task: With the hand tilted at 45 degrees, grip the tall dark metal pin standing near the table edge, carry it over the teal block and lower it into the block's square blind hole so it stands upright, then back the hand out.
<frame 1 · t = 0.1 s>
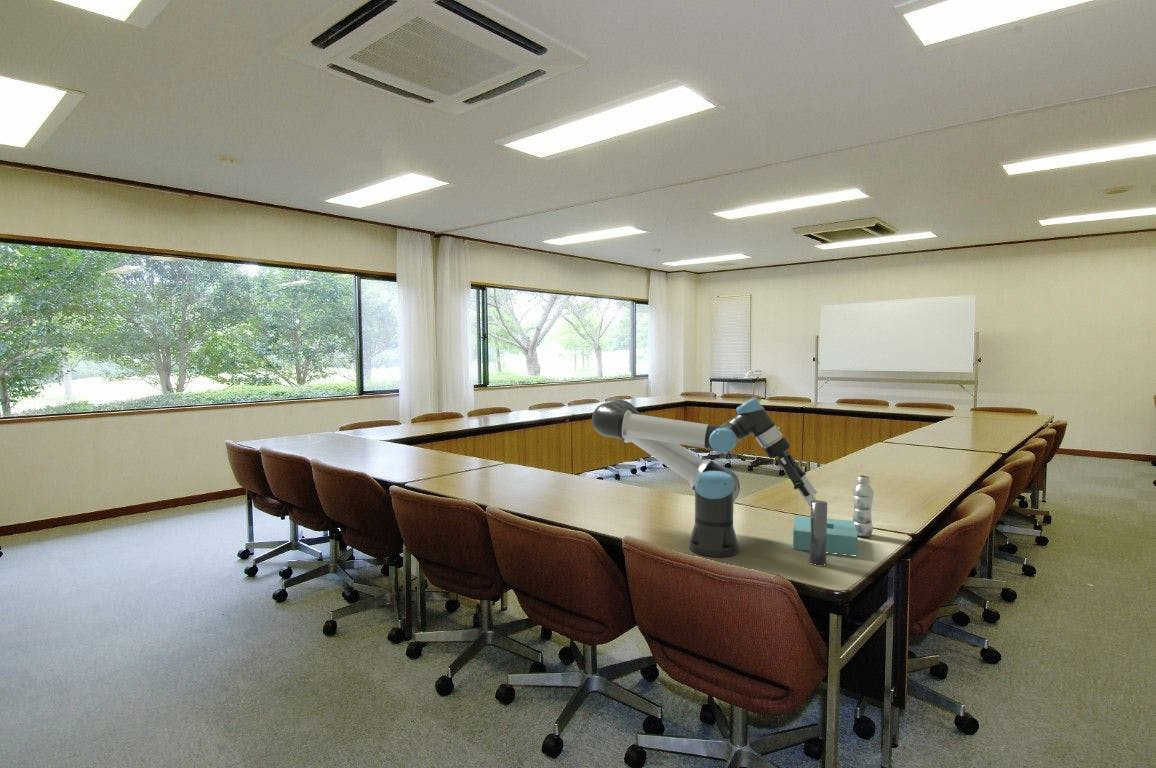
hand: (813, 499, 179), 15 cm above the table, tool tilted 35°, fingers open, 13 cm apart
socket block: (823, 544, 183), on the table
plastic bottle: (861, 536, 192), on the table
pin: (817, 563, 167), on the table
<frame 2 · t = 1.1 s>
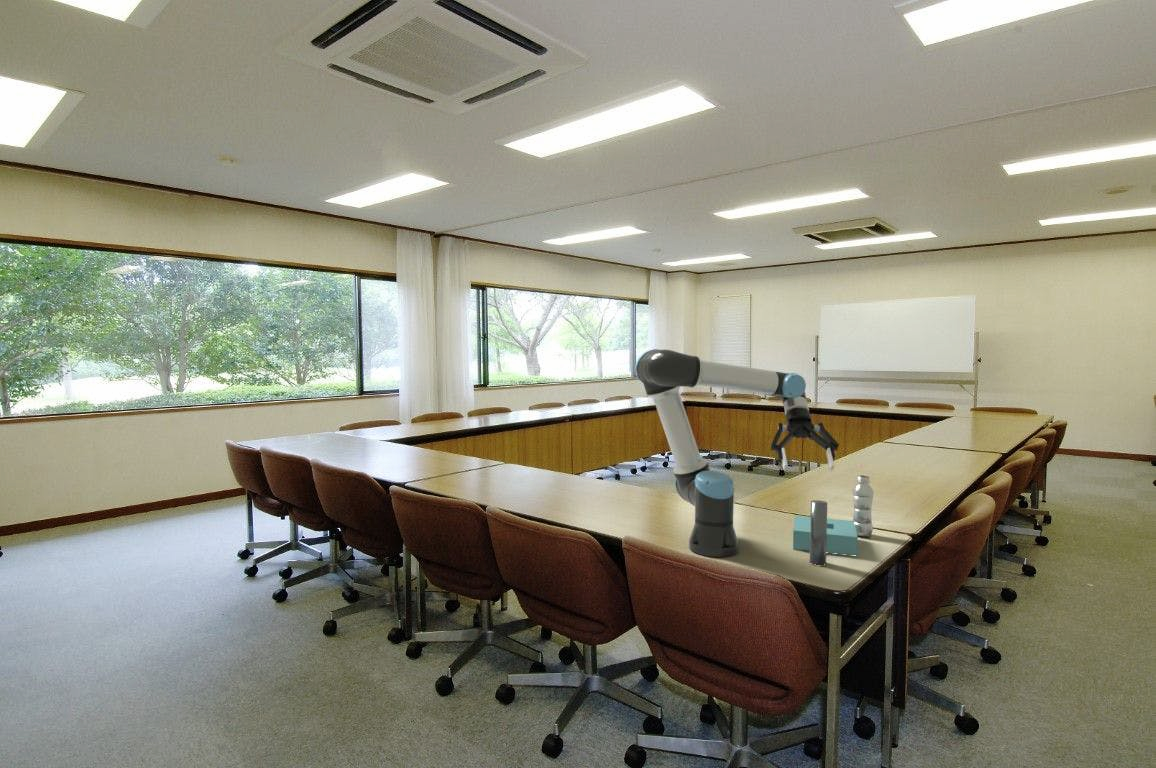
hand: (808, 467, 175), 26 cm above the table, tool tilted 45°, fingers open, 13 cm apart
nothing on the table moved.
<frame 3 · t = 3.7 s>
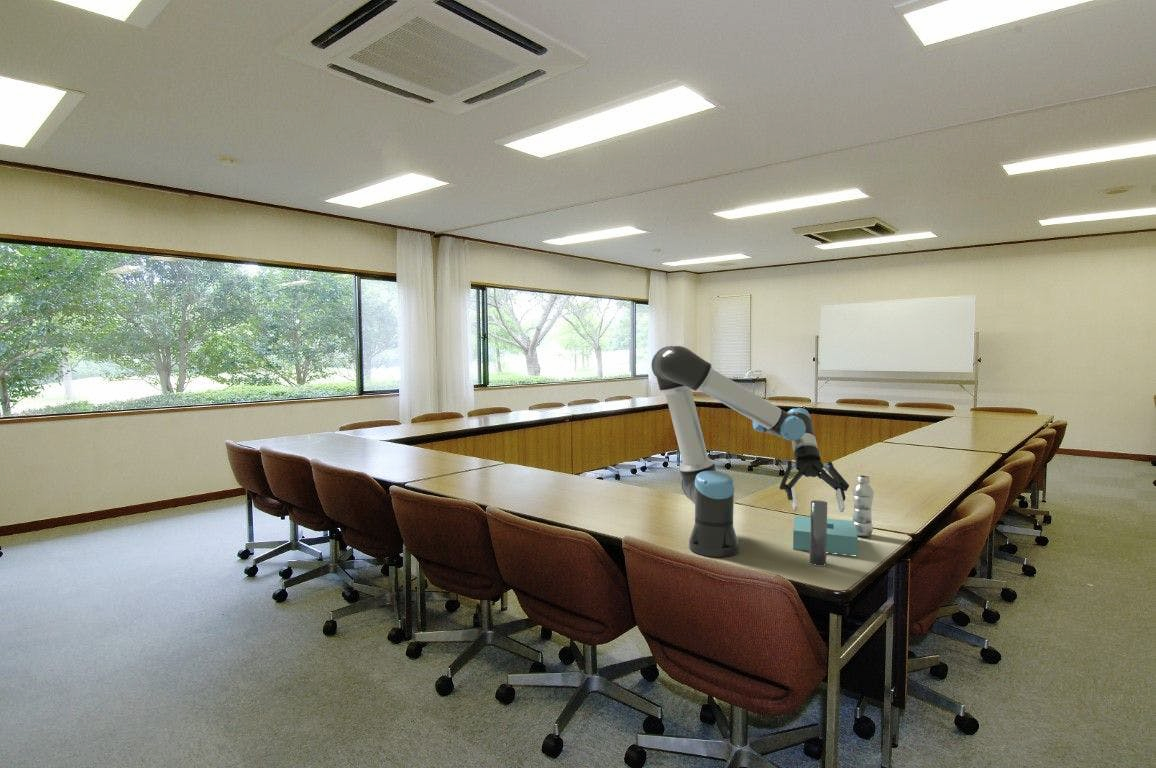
hand: (819, 509, 172), 14 cm above the table, tool tilted 45°, fingers open, 13 cm apart
nothing on the table moved.
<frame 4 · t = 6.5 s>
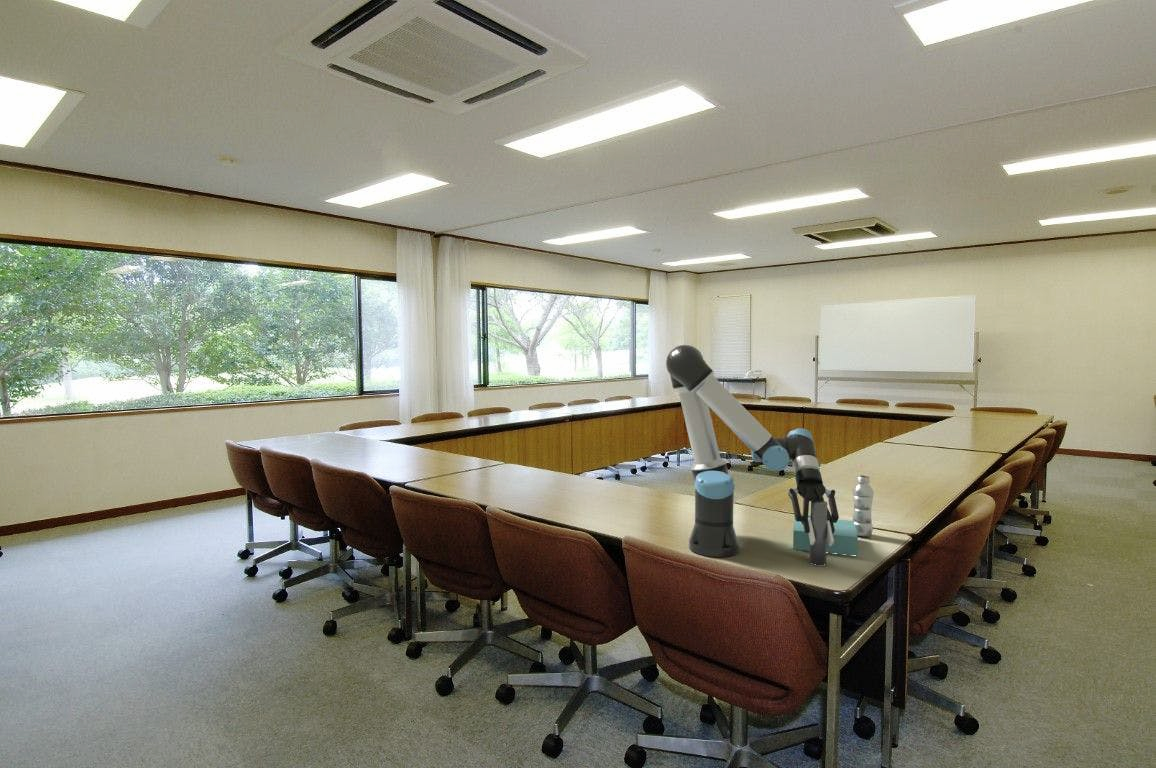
hand: (822, 543, 163), 7 cm above the table, tool tilted 45°, fingers closed on pin, 4 cm apart
pin: (817, 563, 167), on the table, touching gripper
everything else where it was.
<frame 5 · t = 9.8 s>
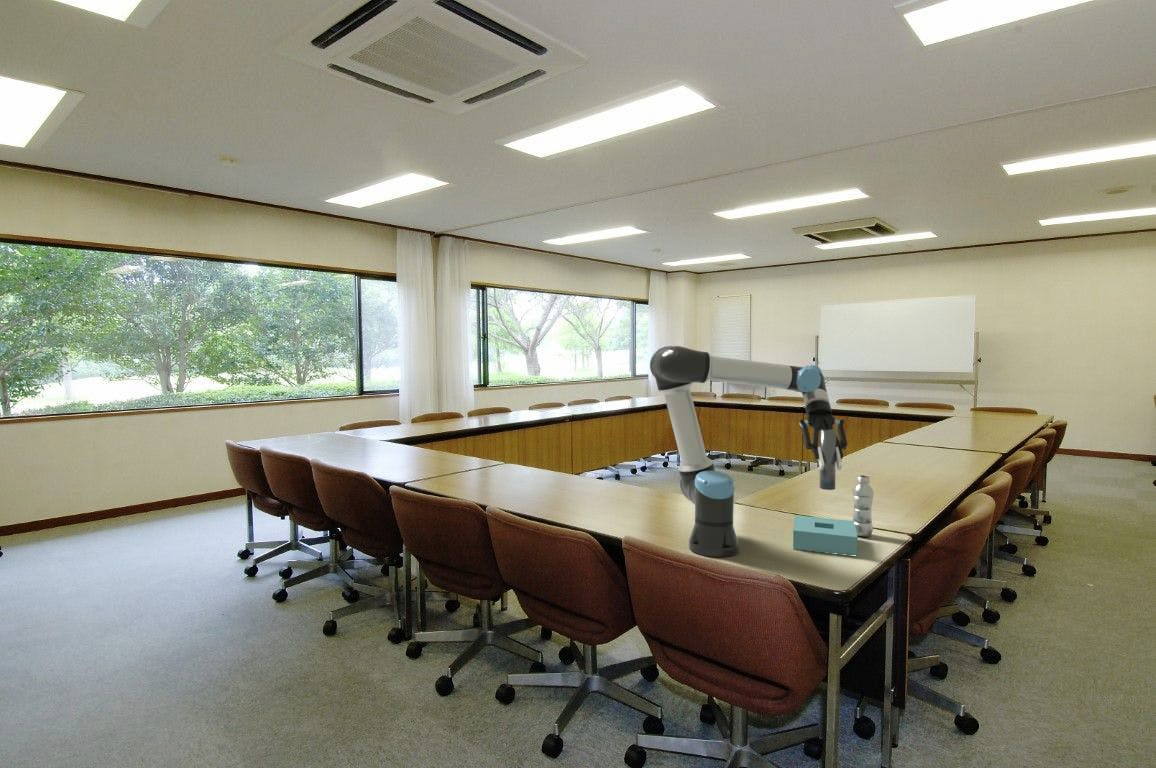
hand: (831, 467, 171), 27 cm above the table, tool tilted 45°, fingers closed on pin, 4 cm apart
pin: (827, 488, 176), point 20 cm above the table, touching gripper
everything else where it was.
when the fingers open (10 cm above the table, at t = 13.2 s): pin drops 1 cm, resting on socket block.
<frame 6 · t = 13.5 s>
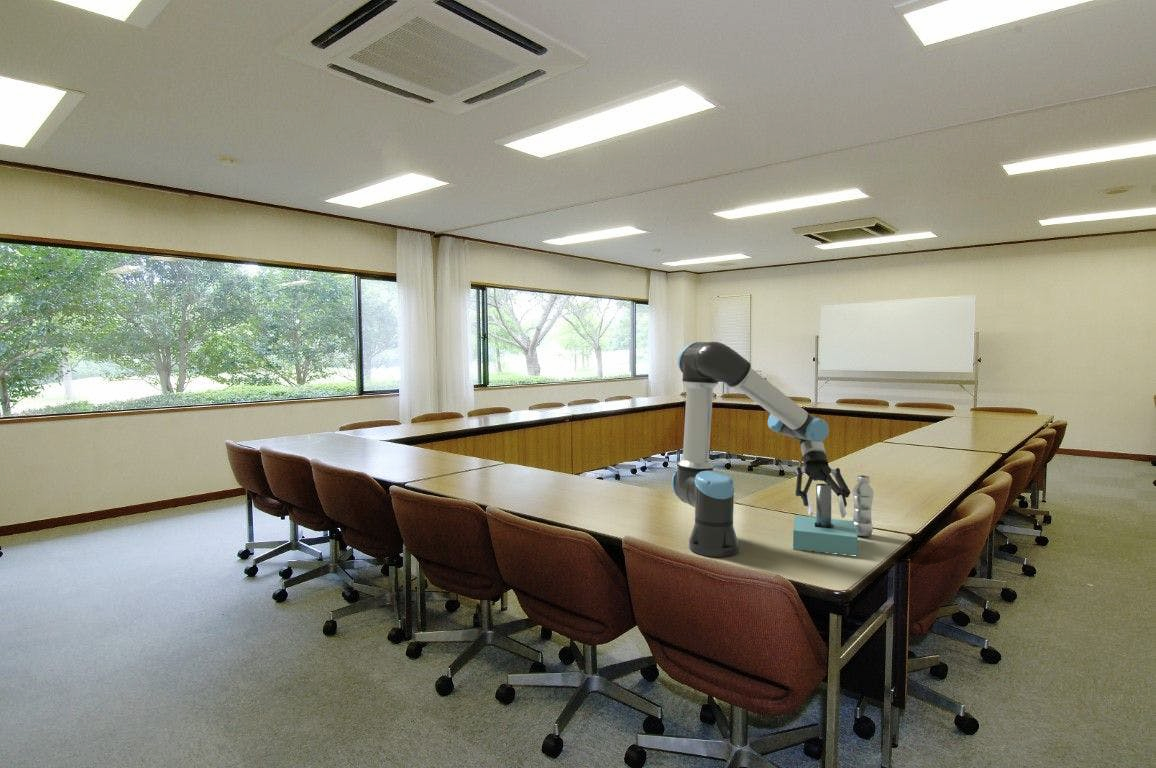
hand: (827, 515, 180), 10 cm above the table, tool tilted 45°, fingers open, 9 cm apart
pin: (823, 540, 183), point 1 cm above the table, touching socket block
everything else where it was.
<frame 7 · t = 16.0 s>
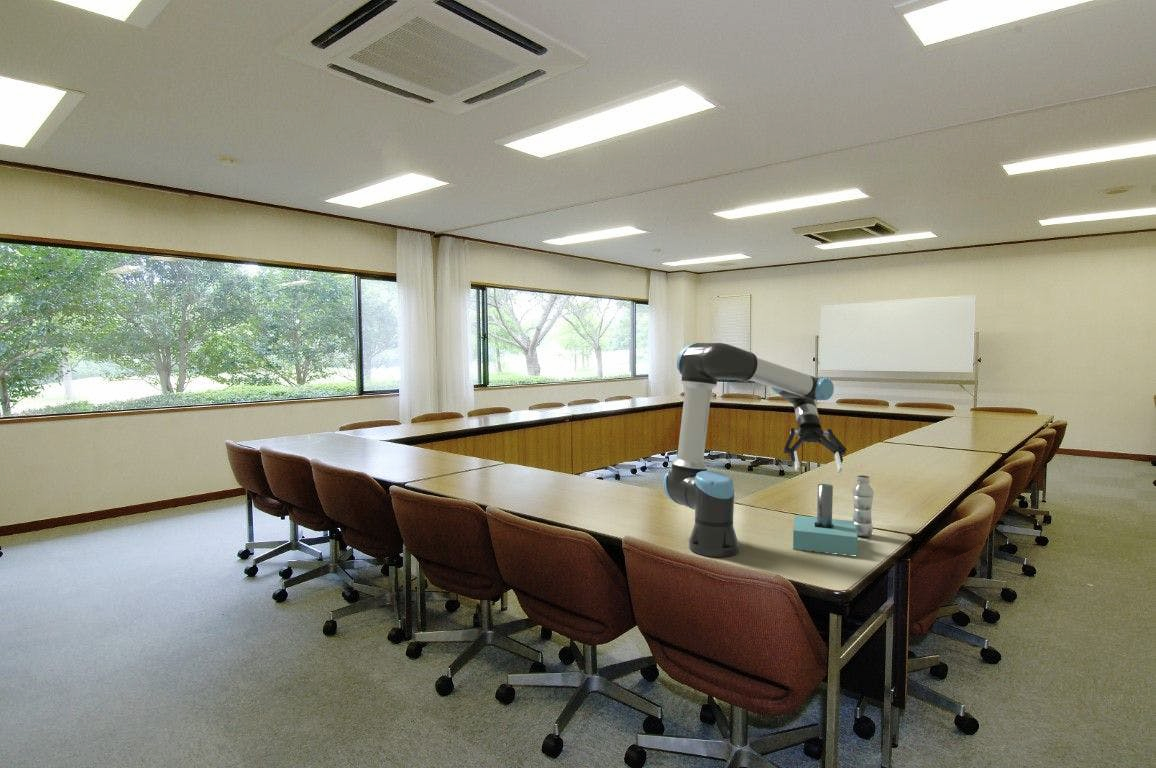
hand: (818, 469, 191), 22 cm above the table, tool tilted 45°, fingers open, 13 cm apart
nothing on the table moved.
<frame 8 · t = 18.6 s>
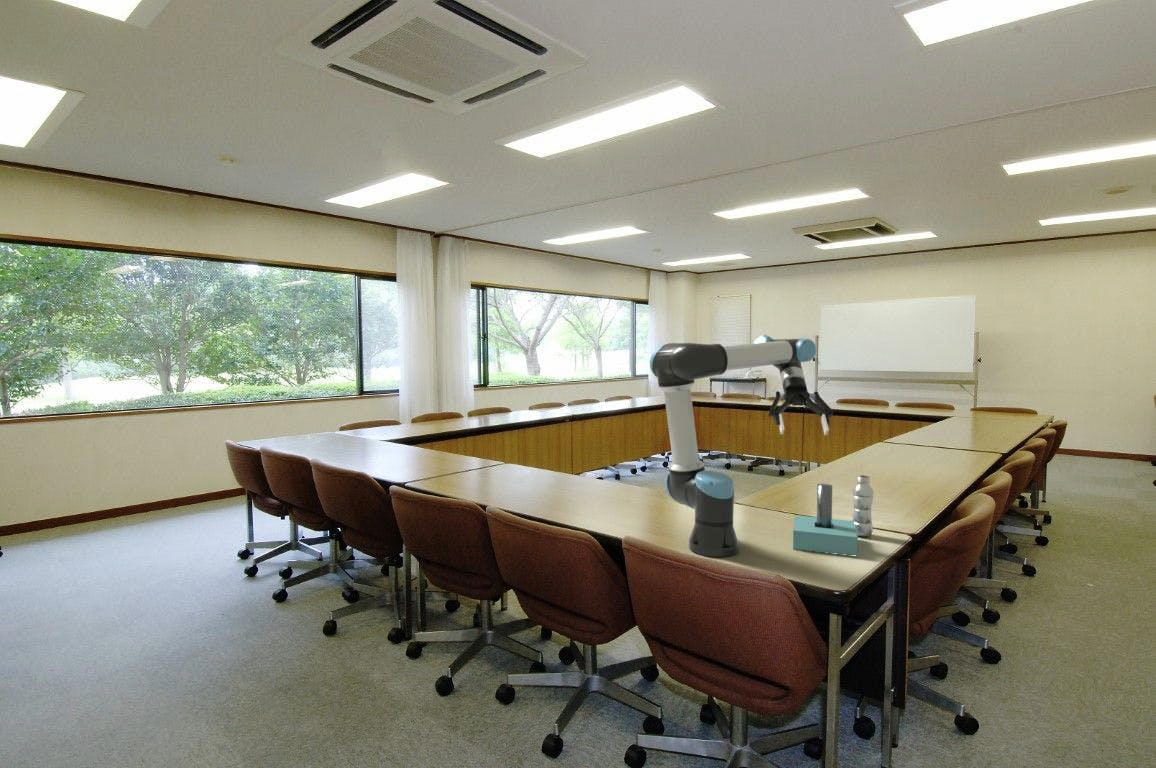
hand: (804, 432, 184), 36 cm above the table, tool tilted 45°, fingers open, 13 cm apart
nothing on the table moved.
at the end: pin 0.0 cm off-centre on the socket block, point 1.0 cm above the socket block's base; pin tilted 1°; the gripper is holding nothing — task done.
